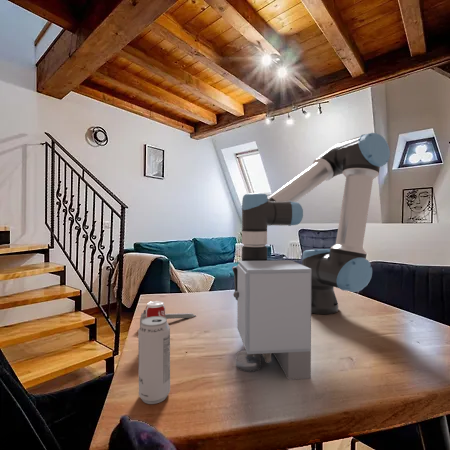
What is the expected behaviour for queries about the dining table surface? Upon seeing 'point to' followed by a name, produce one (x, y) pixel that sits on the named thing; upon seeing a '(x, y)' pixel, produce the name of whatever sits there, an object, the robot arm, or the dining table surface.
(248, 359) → the disc
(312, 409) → the dining table surface
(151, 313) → the soda can
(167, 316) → the caliper
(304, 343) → the cabinet
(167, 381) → the energy drink can
